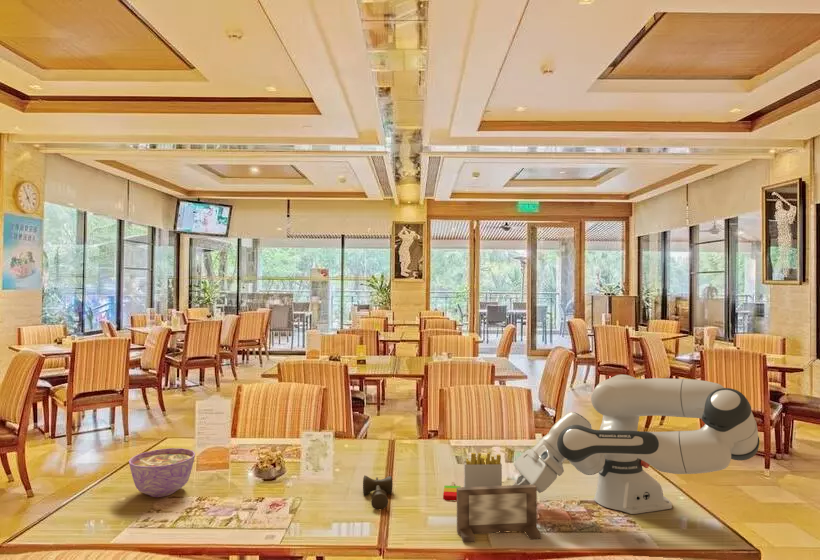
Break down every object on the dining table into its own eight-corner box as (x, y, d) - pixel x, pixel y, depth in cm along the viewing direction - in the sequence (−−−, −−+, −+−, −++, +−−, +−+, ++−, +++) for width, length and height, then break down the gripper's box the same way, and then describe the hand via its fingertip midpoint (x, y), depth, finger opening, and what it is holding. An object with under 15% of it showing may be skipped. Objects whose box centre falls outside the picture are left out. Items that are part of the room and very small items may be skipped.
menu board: (534, 527, 152) (534, 484, 153) (542, 539, 145) (542, 493, 146) (456, 531, 150) (456, 487, 150) (461, 543, 143) (461, 497, 143)
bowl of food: (155, 479, 191) (155, 446, 191) (207, 483, 187) (207, 449, 187) (113, 501, 171) (114, 464, 172) (170, 506, 167) (170, 468, 167)
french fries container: (463, 508, 165) (463, 449, 166) (499, 508, 166) (498, 449, 166) (465, 515, 161) (465, 454, 161) (501, 514, 161) (501, 453, 161)
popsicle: (442, 501, 172) (442, 495, 172) (445, 484, 187) (445, 479, 187) (460, 502, 172) (460, 496, 172) (461, 485, 187) (461, 479, 187)
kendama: (363, 512, 164) (362, 486, 184) (395, 512, 165) (390, 486, 185) (364, 493, 164) (362, 469, 184) (395, 492, 165) (391, 468, 185)
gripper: (528, 439, 175) (498, 470, 174) (550, 459, 155) (517, 495, 154) (541, 452, 176) (512, 484, 175) (566, 474, 155) (533, 510, 154)
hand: (515, 489), depth 164 cm, fingers closed
